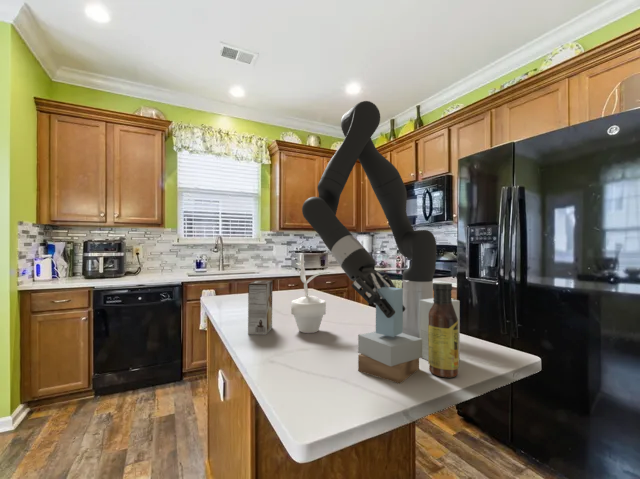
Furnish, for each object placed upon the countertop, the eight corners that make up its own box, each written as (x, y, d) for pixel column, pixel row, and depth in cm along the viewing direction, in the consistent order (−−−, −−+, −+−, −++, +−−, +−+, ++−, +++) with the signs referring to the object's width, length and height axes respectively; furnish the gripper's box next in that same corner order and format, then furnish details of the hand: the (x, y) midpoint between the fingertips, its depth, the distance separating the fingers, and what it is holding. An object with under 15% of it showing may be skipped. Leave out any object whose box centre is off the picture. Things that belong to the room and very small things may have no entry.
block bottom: (379, 360, 78) (380, 344, 78) (419, 371, 71) (419, 353, 71) (358, 373, 70) (358, 355, 70) (399, 386, 63) (399, 366, 64)
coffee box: (253, 327, 107) (254, 280, 107) (272, 327, 107) (273, 280, 107) (247, 334, 98) (247, 283, 98) (267, 334, 98) (268, 283, 98)
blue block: (385, 329, 74) (385, 286, 74) (402, 332, 71) (402, 288, 71) (375, 332, 70) (375, 288, 70) (393, 336, 67) (393, 290, 68)
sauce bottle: (461, 380, 65) (461, 285, 66) (430, 377, 66) (430, 284, 67) (454, 368, 72) (454, 281, 72) (426, 366, 73) (426, 281, 73)
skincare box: (442, 352, 82) (442, 296, 83) (461, 360, 77) (461, 299, 77) (417, 357, 79) (418, 298, 79) (436, 365, 73) (436, 302, 74)
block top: (388, 345, 77) (388, 328, 77) (422, 357, 69) (422, 339, 69) (358, 352, 72) (358, 334, 72) (390, 366, 63) (390, 346, 63)
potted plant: (285, 334, 98) (286, 255, 99) (297, 325, 110) (298, 254, 110) (324, 337, 95) (324, 255, 96) (332, 328, 106) (333, 254, 107)
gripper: (344, 247, 70) (393, 308, 62) (376, 247, 81) (421, 299, 73) (326, 269, 74) (370, 330, 66) (359, 266, 85) (400, 318, 76)
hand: (397, 313), depth 69 cm, fingers closed on blue block, 4 cm apart
